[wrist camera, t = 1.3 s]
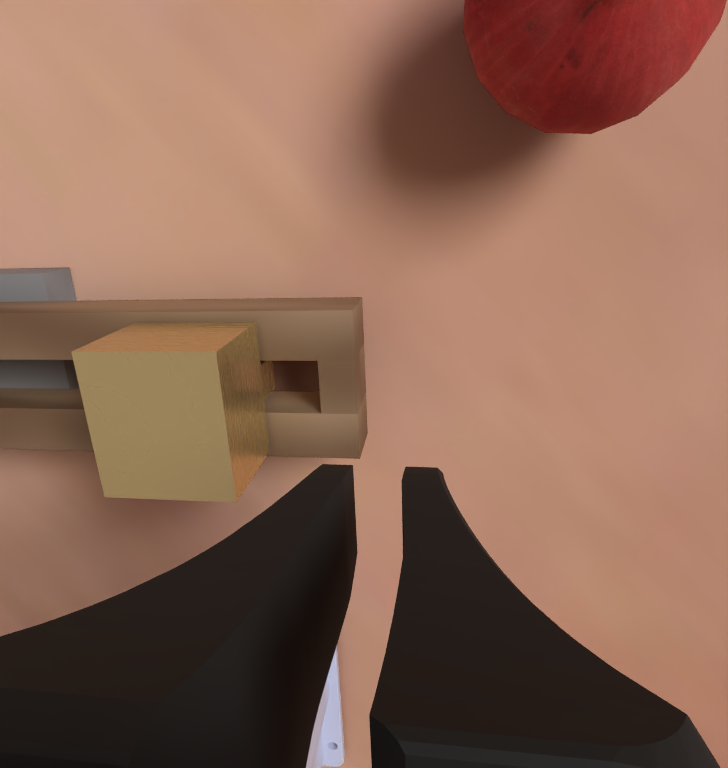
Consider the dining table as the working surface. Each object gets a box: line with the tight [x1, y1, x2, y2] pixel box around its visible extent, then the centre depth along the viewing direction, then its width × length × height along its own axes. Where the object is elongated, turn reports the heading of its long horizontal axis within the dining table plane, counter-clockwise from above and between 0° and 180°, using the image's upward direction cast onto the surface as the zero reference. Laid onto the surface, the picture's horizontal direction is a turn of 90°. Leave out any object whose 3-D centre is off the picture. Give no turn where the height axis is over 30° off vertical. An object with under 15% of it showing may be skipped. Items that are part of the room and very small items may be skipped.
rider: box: [71, 322, 275, 503], centre depth 17 cm, size 4×4×5 cm
